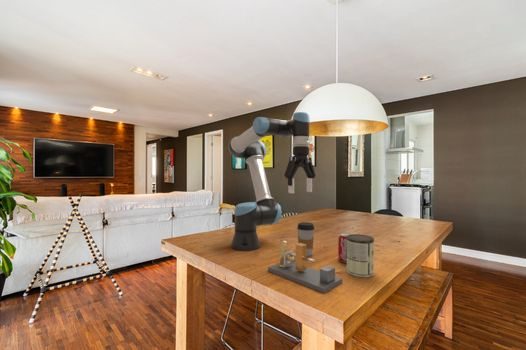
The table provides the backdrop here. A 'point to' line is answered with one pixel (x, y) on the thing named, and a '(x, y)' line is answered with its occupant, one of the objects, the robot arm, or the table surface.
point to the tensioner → (327, 274)
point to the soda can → (342, 247)
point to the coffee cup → (306, 236)
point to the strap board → (305, 277)
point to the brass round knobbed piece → (283, 250)
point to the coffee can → (360, 255)
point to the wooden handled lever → (298, 257)
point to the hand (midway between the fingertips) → (300, 192)
